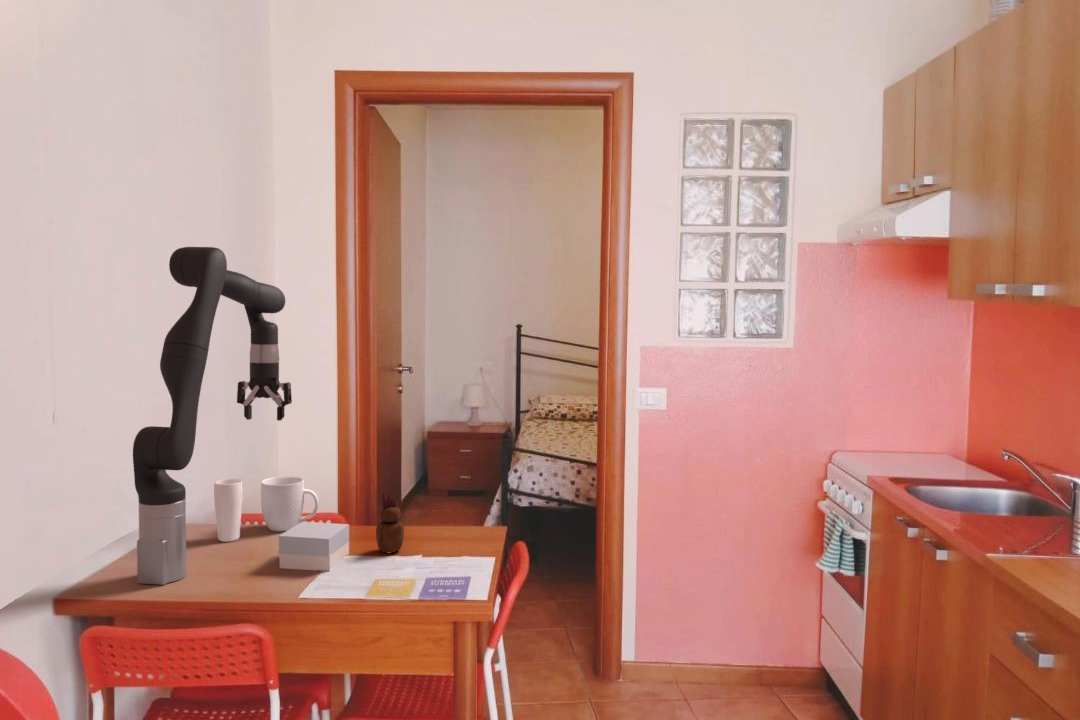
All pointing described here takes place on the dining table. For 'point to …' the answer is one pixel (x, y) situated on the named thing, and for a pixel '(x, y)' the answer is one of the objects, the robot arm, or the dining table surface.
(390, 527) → the wooden figurine
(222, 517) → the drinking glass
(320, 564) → the tower bottom slab
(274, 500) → the mug
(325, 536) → the tower top slab
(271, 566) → the dining table surface
